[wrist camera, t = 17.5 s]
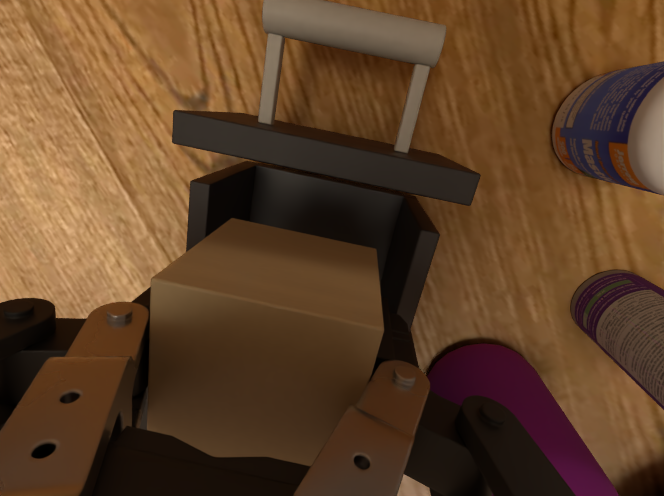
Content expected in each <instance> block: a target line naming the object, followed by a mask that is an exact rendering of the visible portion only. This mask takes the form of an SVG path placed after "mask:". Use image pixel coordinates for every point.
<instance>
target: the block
mask: <svg viewBox="0 0 664 496" xmlns="http://www.w3.org/2000/svg"><path fill="white" fill-rule="evenodd" d="M383 333H384V323H383V312H382V302H381V291H380V281H379V270H378V260H377V250H376V249H375V248H370V247H365V246H361V245H356V244H351V243H347V242H342V241H337V240H333V239H328V238H323V237H319V236H314V235H309V234H305V233H300V232H295V231H291V230H286V229H281V228H277V227H272V226H267V225H263V224H258V223H253V222H249V221H244V220H239V219H235V218H231V219H230V220H229V221H227V222H226V223H225V224H223V225H222V226H221V227H219V228H218V229H217V230H215V231H214V232H213V233H211V234H210V235H209V236H207V237H206V238H205V239H203V240H202V241H201V242H199V243H198V244H197V245H195V246H194V247H193V248H191V249H190V250H189V251H187V252H186V253H185V254H183V255H182V256H181V257H179V258H178V259H177V260H175V261H174V262H173V263H171V264H170V265H169V266H167V267H166V268H165V269H163V270H162V271H161V272H159V273H158V274H157V275H155V276H154V277H153V278H152V279H151V295H150V333H149V371H148V409H147V430H149V431H153V432H158V433H162V434H167V435H171V436H174V437H176V438H177V439H179V440H181V441H183V442H185V443H187V444H189V445H191V446H193V447H195V448H197V449H199V450H201V451H203V452H205V453H207V454H208V455H211V456H214V457H271V458H275V459H280V460H284V461H289V462H293V463H298V464H302V465H307V466H311V465H312V464H313V462H314V461H315V459H316V457H317V456H318V454H319V452H320V451H321V449H322V448H323V446H324V444H325V443H326V441H327V440H328V438H329V436H330V435H331V433H332V431H333V430H334V428H335V427H336V425H337V423H338V422H339V420H340V418H341V417H342V415H343V414H344V412H345V410H346V409H347V407H348V406H349V405H350V404H352V405H354V406H355V405H356V404H357V402H358V400H359V399H360V397H361V395H362V394H363V392H364V390H365V388H366V387H367V385H368V383H369V381H370V378H371V374H372V371H373V368H374V364H375V361H376V357H377V354H378V350H379V347H380V343H381V340H382V336H383Z"/></svg>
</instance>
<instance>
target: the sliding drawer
mask: <svg viewBox="0 0 664 496" xmlns="http://www.w3.org/2000/svg"><path fill="white" fill-rule="evenodd" d="M262 21H263V28H264V31H265V33H267V34H268V40H267V48H266V57H265V65H264V74H263V82H262V91H261V99H260V108H259V116H254V115H249V114H244V113H230V112H207V111H185V110H174V112H173V135H172V143H174V144H178V145H183V146H188V147H193V148H197V149H202V150H207V151H211V152H216V153H221V154H226V155H230V156H235V157H240V158H245V159H249V160H254V161H259V162H264V163H268V164H273V165H278V166H283V167H287V168H292V169H297V170H302V171H306V172H311V173H316V174H320V175H325V176H330V177H335V178H339V179H344V180H349V181H354V182H358V183H363V184H368V185H373V186H377V187H382V188H387V189H392V190H396V191H401V192H406V193H410V194H415V195H420V196H425V197H429V198H434V199H439V200H444V201H448V202H453V203H458V204H463V205H467V206H470V205H471V203H472V200H473V197H474V194H475V191H476V188H477V185H478V182H479V179H480V174H479V173H476V172H474V171H472V170H470V169H468V168H466V167H464V166H462V165H460V164H458V163H456V162H454V161H452V160H450V159H447V158H445V157H443V156H441V155H439V154H435V153H430V152H426V151H421V150H416V149H411V148H409V147H410V143H411V139H412V135H413V132H414V128H415V124H416V120H417V116H418V112H419V109H420V105H421V101H422V97H423V93H424V89H425V86H426V82H427V78H428V74H429V70H430V67H431V68H434V67H435V66H436V64H437V62H438V59H439V57H440V54H441V51H442V47H443V44H444V40H445V35H446V26H445V25H441V24H436V23H432V22H427V21H422V20H417V19H412V18H407V17H402V16H397V15H392V14H388V13H383V12H378V11H373V10H368V9H363V8H358V7H353V6H349V5H344V4H339V3H334V2H329V1H324V0H264V2H263V11H262ZM284 37H286V38H290V39H295V40H300V41H305V42H310V43H315V44H319V45H324V46H329V47H334V48H339V49H344V50H349V51H353V52H358V53H363V54H368V55H373V56H378V57H382V58H387V59H392V60H397V61H402V62H407V63H411V64H416V65H415V66H414V68H413V72H412V76H411V80H410V84H409V88H408V92H407V96H406V100H405V104H404V108H403V112H402V117H401V121H400V125H399V129H398V133H397V137H396V141H395V145H392V144H387V143H383V142H378V141H373V140H368V139H363V138H359V137H354V136H349V135H344V134H340V133H335V132H330V131H325V130H320V129H316V128H311V127H306V126H301V125H297V124H292V123H287V122H282V121H278V120H274V119H275V112H276V104H277V97H278V89H279V82H280V74H281V67H282V59H283V52H284V44H285V38H284ZM231 218H235V219H239V220H244V221H249V222H253V223H258V224H263V225H267V226H272V227H277V228H281V229H286V230H291V231H295V232H300V233H305V234H309V235H314V236H319V237H323V238H328V239H333V240H337V241H342V242H347V243H351V244H356V245H361V246H365V247H370V248H375V249H376V250H377V260H378V270H379V281H380V291H381V297H386V298H387V299H388V306H389V313H394V314H398V315H400V316H401V317H402V318H403V319H404V320H405V322H406V323H407V324H408V329H409V332H410V328H411V325H412V322H413V319H414V316H415V313H416V309H417V306H418V303H419V300H420V297H421V294H422V290H423V287H424V284H425V281H426V278H427V274H428V271H429V268H430V265H431V262H432V259H433V255H434V252H435V249H436V246H437V243H438V240H439V236H440V233H439V232H438V230H437V229H436V227H435V226H434V224H433V223H432V221H431V220H430V218H429V217H428V215H427V213H426V212H425V210H424V209H423V207H422V206H421V204H420V203H419V201H418V200H417V198H416V196H412V195H407V194H403V193H398V192H393V191H388V190H384V189H379V188H374V187H369V186H365V185H360V184H355V183H351V182H346V181H341V180H336V179H332V178H327V177H322V176H317V175H313V174H308V173H303V172H298V171H294V170H289V169H284V168H279V167H275V166H270V165H265V164H260V163H256V162H251V161H245V162H242V163H239V164H236V165H233V166H231V167H228V168H225V169H222V170H219V171H217V172H214V173H211V174H208V175H206V176H203V177H200V178H197V179H194V180H192V181H191V182H190V197H189V214H188V231H187V247H186V252H187V251H189V250H190V249H191V248H193V247H194V246H195V245H197V244H198V243H199V242H201V241H202V240H203V239H205V238H206V237H207V236H209V235H210V234H211V233H213V232H214V231H215V230H217V229H218V228H219V227H221V226H222V225H223V224H225V223H226V222H227V221H229V220H230V219H231Z"/></svg>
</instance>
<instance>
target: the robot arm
mask: <svg viewBox="0 0 664 496" xmlns="http://www.w3.org/2000/svg"><path fill="white" fill-rule="evenodd" d="M150 295H151V287H150V288H149V289H147V290H146V291H145V292H143V293H142V294H141V295H140V296H138V297H137V298H136V299H135V300H133V301H132V302H115V303H110V304H106V305H103V306H100V307H98V308H96V309H95V310H93V311H92V312H91V313H90V315H89V316H88V318H87V319H70V318H56V314H55V306H54V304H52V303H51V302H49V301H47V300H44V299H37V298H22V299H15V300H9V301H5V302H2V303H0V496H397V493H398V490H399V487H400V484H401V481H402V478H403V474H405V475H407V476H409V477H411V478H412V479H414V480H416V481H418V482H420V483H422V484H423V485H425V486H427V487H429V488H430V493H431V496H493V495H494V496H576V495H575V494H574V492H573V491H572V490H571V488H570V487H569V486H568V484H567V483H566V482H565V481H564V479H563V478H562V477H561V475H560V474H559V473H558V471H557V470H556V469H555V467H554V466H553V465H552V463H551V462H550V461H549V460H548V458H547V457H546V456H545V454H544V453H543V452H542V450H541V449H540V448H539V446H538V445H537V444H536V442H535V441H534V440H533V439H532V437H531V436H530V435H529V433H528V432H527V431H526V429H525V428H524V427H523V425H522V424H521V423H520V421H519V420H518V419H517V418H516V416H515V415H514V414H513V413H512V412H511V411H510V410H509V409H507V408H506V407H505V406H503V405H502V404H500V403H499V402H497V401H495V400H493V399H490V398H488V397H484V396H479V395H472V396H468V397H466V398H465V399H464V400H463V402H462V405H461V406H460V405H458V404H456V403H454V402H451V401H449V400H447V399H445V398H443V397H441V396H439V395H437V394H436V393H434V392H433V391H431V390H430V382H429V380H428V378H427V376H426V375H425V374H424V373H423V372H422V371H421V370H420V369H418V368H417V367H416V362H415V357H414V352H413V348H412V343H411V338H410V335H409V334H410V333H409V329H408V324H407V323H406V322H405V320H404V319H403V318H402V317H401V316H400V315H398V314H394V313H389V306H388V299H387V298H386V297H381V302H382V312H383V323H384V333H383V336H382V340H381V343H380V347H379V350H378V354H377V357H376V361H375V364H374V368H373V371H372V374H371V378H370V381H369V383H368V385H367V387H366V388H365V390H364V392H363V394H362V395H361V397H360V399H359V400H358V402H357V404H356V405H355V406H354V405H352V404H350V405H349V406H348V407H347V409H346V410H345V412H344V414H343V415H342V417H341V418H340V420H339V422H338V423H337V425H336V427H335V428H334V430H333V431H332V433H331V435H330V436H329V438H328V440H327V441H326V443H325V444H324V446H323V448H322V449H321V451H320V452H319V454H318V456H317V457H316V459H315V461H314V462H313V464H312V465H311V466H307V465H302V464H298V463H293V462H289V461H284V460H280V459H275V458H271V457H214V456H211V455H208V454H207V453H205V452H203V451H201V450H199V449H197V448H195V447H193V446H191V445H189V444H187V443H185V442H183V441H181V440H179V439H177V438H176V437H174V436H171V435H167V434H162V433H158V432H153V431H149V430H144V429H140V424H141V420H142V416H143V412H144V407H145V403H146V399H147V390H148V371H149V333H150ZM492 494H493V495H492Z"/></svg>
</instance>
